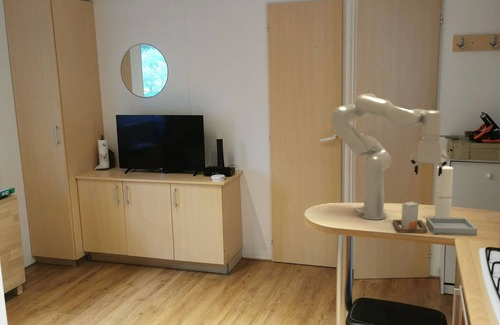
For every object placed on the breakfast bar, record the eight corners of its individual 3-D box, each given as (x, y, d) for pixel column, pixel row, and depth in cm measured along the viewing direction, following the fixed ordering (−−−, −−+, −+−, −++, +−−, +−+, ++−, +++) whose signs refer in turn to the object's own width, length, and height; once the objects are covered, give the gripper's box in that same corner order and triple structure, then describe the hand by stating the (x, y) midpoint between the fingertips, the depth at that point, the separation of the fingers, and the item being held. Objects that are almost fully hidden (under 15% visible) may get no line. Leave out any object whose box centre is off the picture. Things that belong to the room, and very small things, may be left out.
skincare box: (407, 230, 216) (409, 205, 214) (401, 228, 220) (401, 203, 217) (417, 228, 219) (418, 203, 216) (410, 226, 222) (411, 201, 220)
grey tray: (433, 234, 211) (434, 227, 210) (425, 223, 225) (426, 217, 225) (476, 235, 208) (477, 228, 208) (465, 224, 223) (466, 218, 222)
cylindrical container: (447, 215, 237) (450, 166, 232) (452, 219, 230) (455, 169, 225) (432, 215, 238) (435, 166, 233) (437, 219, 231) (439, 169, 226)
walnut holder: (397, 232, 214) (397, 228, 213) (392, 223, 226) (392, 219, 226) (427, 233, 212) (427, 229, 212) (420, 224, 225) (421, 220, 224)
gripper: (409, 138, 214) (407, 175, 218) (451, 140, 208) (448, 178, 212) (410, 135, 221) (408, 171, 225) (451, 137, 215) (448, 174, 218)
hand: (427, 174), depth 218 cm, fingers open, 9 cm apart
